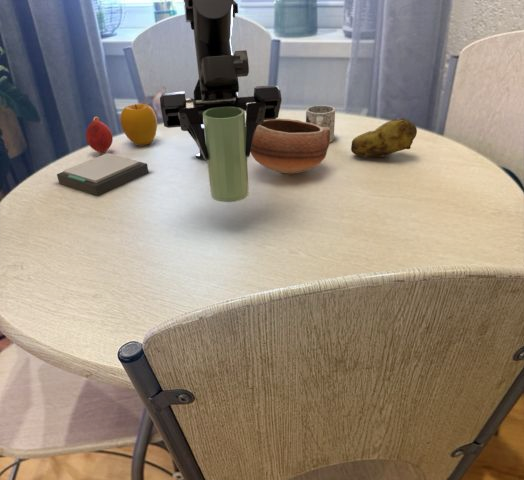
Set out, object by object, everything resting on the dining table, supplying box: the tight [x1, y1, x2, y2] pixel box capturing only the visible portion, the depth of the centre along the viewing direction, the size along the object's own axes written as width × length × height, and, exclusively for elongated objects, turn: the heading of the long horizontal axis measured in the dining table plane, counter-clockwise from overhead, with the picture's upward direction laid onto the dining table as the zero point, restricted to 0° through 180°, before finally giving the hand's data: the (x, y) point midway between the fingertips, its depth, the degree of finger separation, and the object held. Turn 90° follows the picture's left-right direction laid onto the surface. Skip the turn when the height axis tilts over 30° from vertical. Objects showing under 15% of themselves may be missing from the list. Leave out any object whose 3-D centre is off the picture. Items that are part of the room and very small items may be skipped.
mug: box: [305, 104, 336, 143], centre depth 122 cm, size 10×7×7 cm, turn 172°
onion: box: [85, 116, 114, 155], centre depth 121 cm, size 6×6×8 cm
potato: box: [350, 118, 418, 158], centre depth 113 cm, size 8×13×8 cm, turn 63°
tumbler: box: [203, 106, 250, 203], centre depth 85 cm, size 6×6×13 cm
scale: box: [56, 152, 150, 197], centre depth 111 cm, size 14×12×3 cm
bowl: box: [250, 118, 331, 174], centre depth 108 cm, size 16×16×10 cm
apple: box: [119, 103, 158, 147], centre depth 125 cm, size 8×8×9 cm
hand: (227, 157), depth 84 cm, fingers closed on tumbler, 6 cm apart
